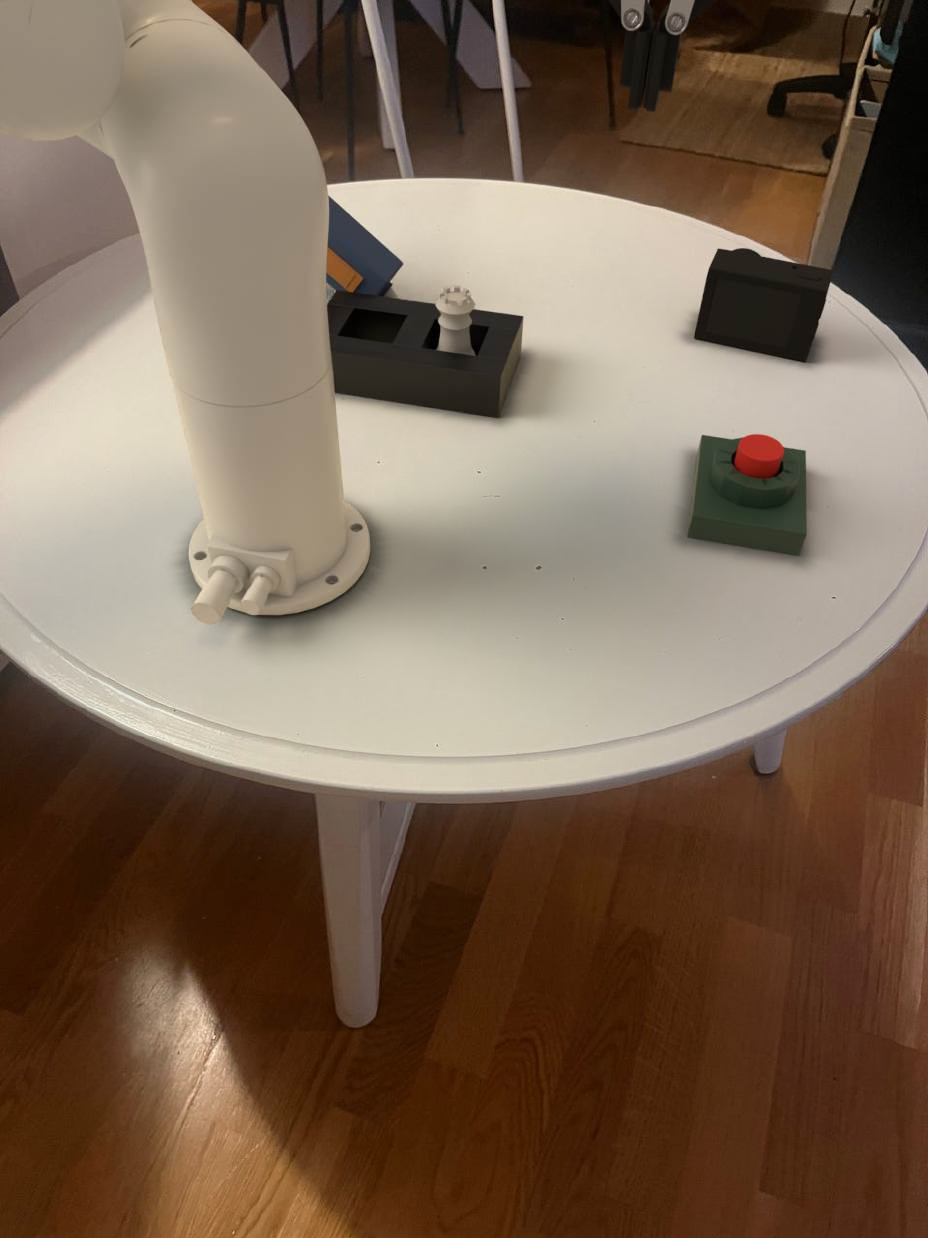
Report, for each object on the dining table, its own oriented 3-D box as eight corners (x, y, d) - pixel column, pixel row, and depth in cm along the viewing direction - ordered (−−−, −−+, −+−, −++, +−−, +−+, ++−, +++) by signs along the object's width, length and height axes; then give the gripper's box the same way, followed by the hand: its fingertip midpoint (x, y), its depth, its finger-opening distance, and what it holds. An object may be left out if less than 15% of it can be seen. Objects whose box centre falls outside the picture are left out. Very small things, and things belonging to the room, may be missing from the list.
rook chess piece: (421, 387, 84) (420, 301, 78) (438, 360, 87) (438, 276, 81) (471, 396, 83) (473, 311, 77) (486, 369, 86) (489, 284, 80)
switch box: (798, 556, 70) (814, 514, 67) (686, 538, 71) (697, 495, 68) (798, 472, 77) (812, 431, 74) (696, 456, 78) (706, 415, 75)
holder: (498, 418, 81) (500, 376, 78) (303, 387, 84) (298, 346, 81) (520, 356, 88) (523, 315, 85) (339, 329, 90) (336, 289, 87)
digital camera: (814, 333, 91) (837, 262, 86) (806, 362, 88) (829, 290, 83) (705, 311, 94) (720, 240, 89) (693, 338, 90) (708, 267, 85)
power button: (777, 483, 70) (784, 463, 69) (733, 476, 71) (738, 456, 69) (778, 456, 72) (784, 437, 71) (734, 450, 73) (740, 430, 72)
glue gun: (343, 404, 100) (423, 310, 89) (68, 201, 89) (123, 69, 79) (361, 369, 103) (440, 275, 93) (100, 171, 93) (156, 41, 83)
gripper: (527, -341, 42) (505, 111, 55) (885, -326, 40) (772, 141, 53) (556, -348, 47) (529, 68, 60) (875, -336, 45) (775, 93, 58)
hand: (643, 101), depth 57 cm, fingers closed
